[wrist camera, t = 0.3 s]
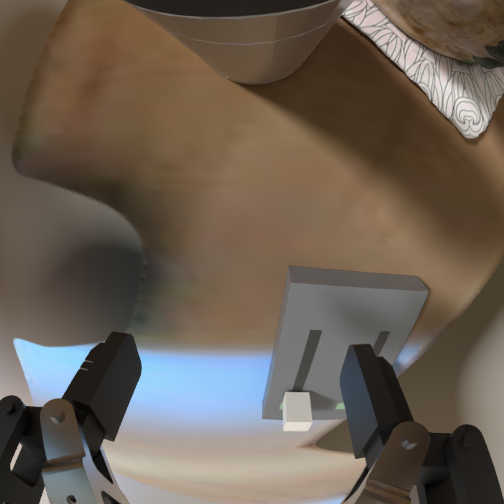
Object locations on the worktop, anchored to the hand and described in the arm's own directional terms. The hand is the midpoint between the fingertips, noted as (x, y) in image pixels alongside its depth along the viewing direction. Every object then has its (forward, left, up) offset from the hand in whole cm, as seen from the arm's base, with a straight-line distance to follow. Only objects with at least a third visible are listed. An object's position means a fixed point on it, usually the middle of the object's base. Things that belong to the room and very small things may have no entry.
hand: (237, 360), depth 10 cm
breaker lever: (+23, +7, -14) cm, 28 cm away
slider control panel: (+18, +11, -18) cm, 27 cm away
